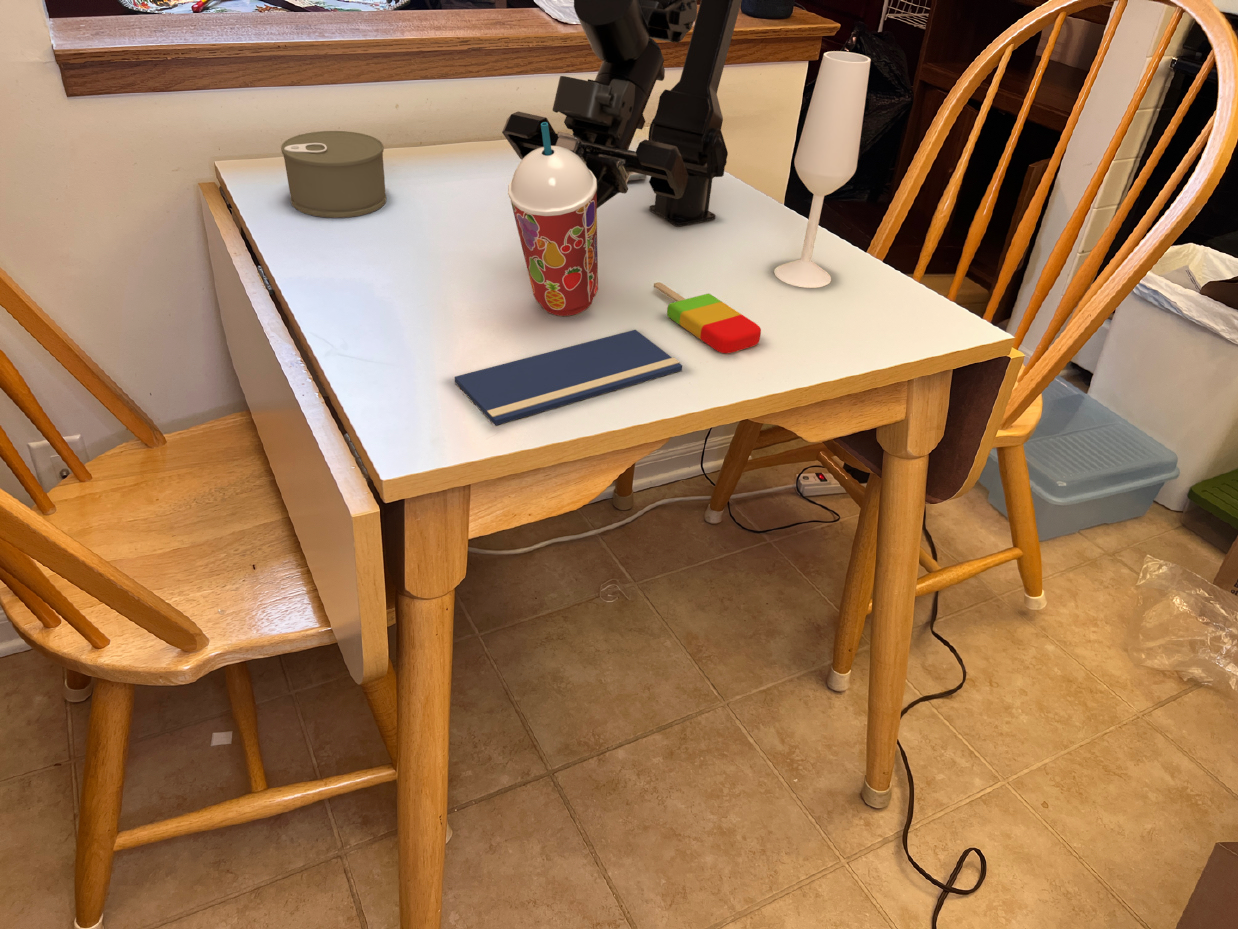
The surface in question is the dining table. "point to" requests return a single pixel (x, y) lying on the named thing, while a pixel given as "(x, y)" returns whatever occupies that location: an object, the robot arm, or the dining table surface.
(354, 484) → the dining table surface
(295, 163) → the can
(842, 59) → the champagne flute
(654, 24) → the robot arm
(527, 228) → the smoothie
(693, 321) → the popsicle
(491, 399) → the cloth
